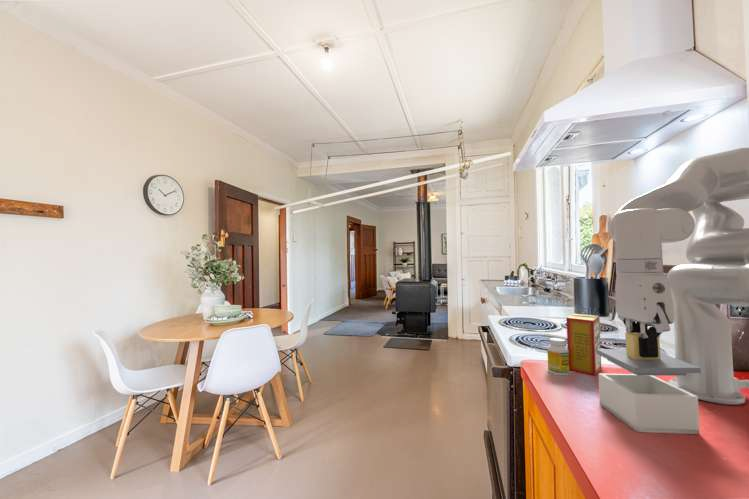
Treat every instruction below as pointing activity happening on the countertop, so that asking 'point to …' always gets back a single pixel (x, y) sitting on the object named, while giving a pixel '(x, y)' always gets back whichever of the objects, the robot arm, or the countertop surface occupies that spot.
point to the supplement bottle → (558, 357)
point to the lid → (646, 360)
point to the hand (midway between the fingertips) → (643, 354)
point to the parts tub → (649, 403)
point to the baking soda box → (583, 343)
